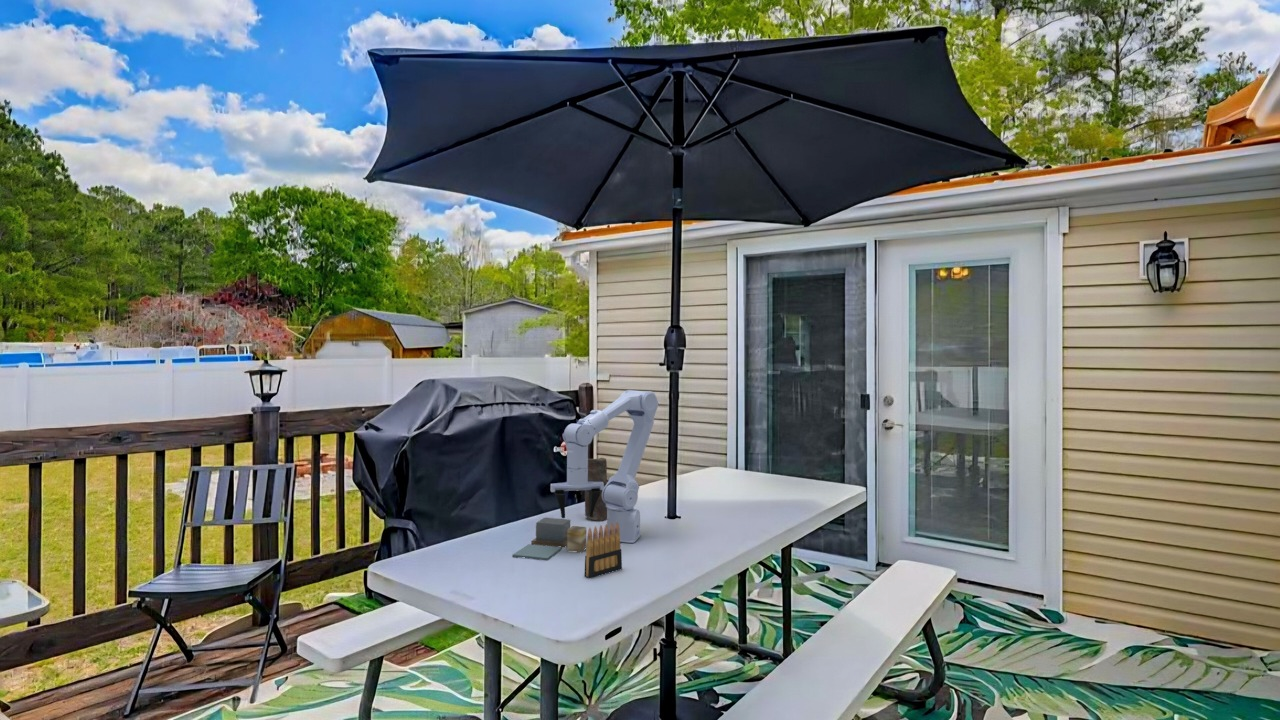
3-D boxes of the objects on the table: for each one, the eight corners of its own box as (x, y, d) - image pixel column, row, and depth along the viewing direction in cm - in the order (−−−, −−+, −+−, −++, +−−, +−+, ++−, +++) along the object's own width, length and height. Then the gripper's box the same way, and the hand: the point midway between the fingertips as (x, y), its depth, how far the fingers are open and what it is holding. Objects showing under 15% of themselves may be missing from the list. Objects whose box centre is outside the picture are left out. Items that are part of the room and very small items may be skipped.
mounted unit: (574, 539, 196) (574, 519, 196) (564, 547, 188) (564, 526, 188) (542, 536, 198) (542, 516, 198) (531, 544, 191) (531, 523, 190)
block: (586, 548, 187) (586, 526, 187) (581, 552, 183) (581, 530, 183) (572, 547, 188) (572, 525, 188) (567, 551, 184) (567, 529, 184)
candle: (580, 520, 218) (581, 458, 218) (589, 515, 225) (589, 455, 225) (603, 522, 216) (603, 459, 215) (610, 516, 223) (611, 456, 222)
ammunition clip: (588, 578, 163) (589, 529, 163) (584, 576, 164) (584, 527, 164) (622, 569, 170) (622, 521, 170) (617, 567, 171) (617, 520, 171)
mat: (561, 549, 186) (561, 547, 186) (547, 560, 176) (547, 558, 176) (528, 546, 189) (528, 544, 189) (512, 556, 179) (512, 554, 179)
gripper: (600, 464, 191) (599, 511, 192) (549, 465, 188) (548, 514, 188) (605, 468, 185) (605, 517, 185) (552, 470, 181) (552, 520, 181)
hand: (576, 516), depth 186 cm, fingers open, 7 cm apart
